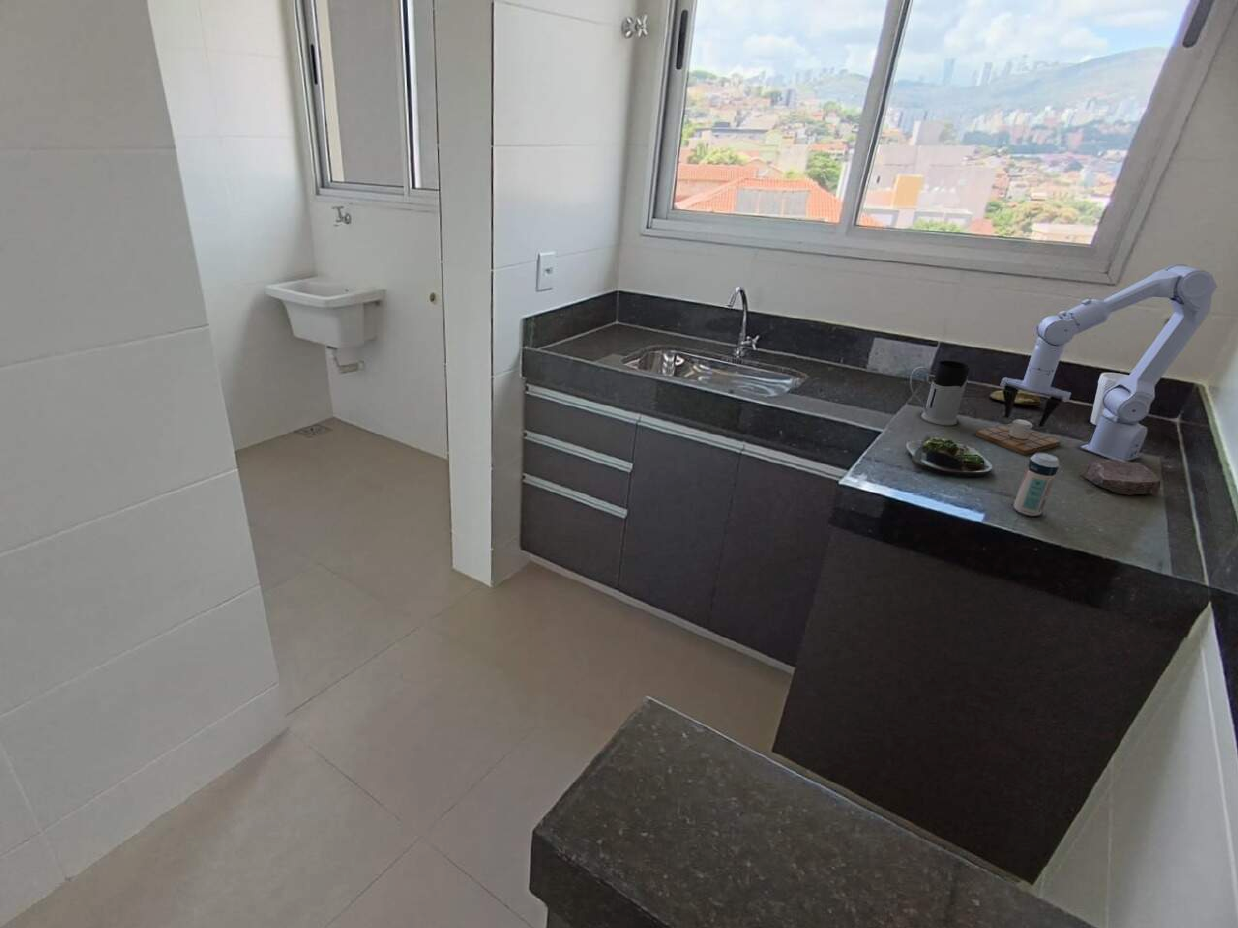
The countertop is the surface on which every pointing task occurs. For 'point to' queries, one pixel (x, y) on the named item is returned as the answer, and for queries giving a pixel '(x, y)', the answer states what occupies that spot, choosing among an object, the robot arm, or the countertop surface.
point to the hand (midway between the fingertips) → (1023, 421)
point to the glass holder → (944, 392)
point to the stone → (1123, 477)
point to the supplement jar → (1036, 484)
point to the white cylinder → (1020, 429)
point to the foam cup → (1104, 384)
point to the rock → (1019, 397)
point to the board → (1018, 440)
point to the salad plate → (948, 458)
